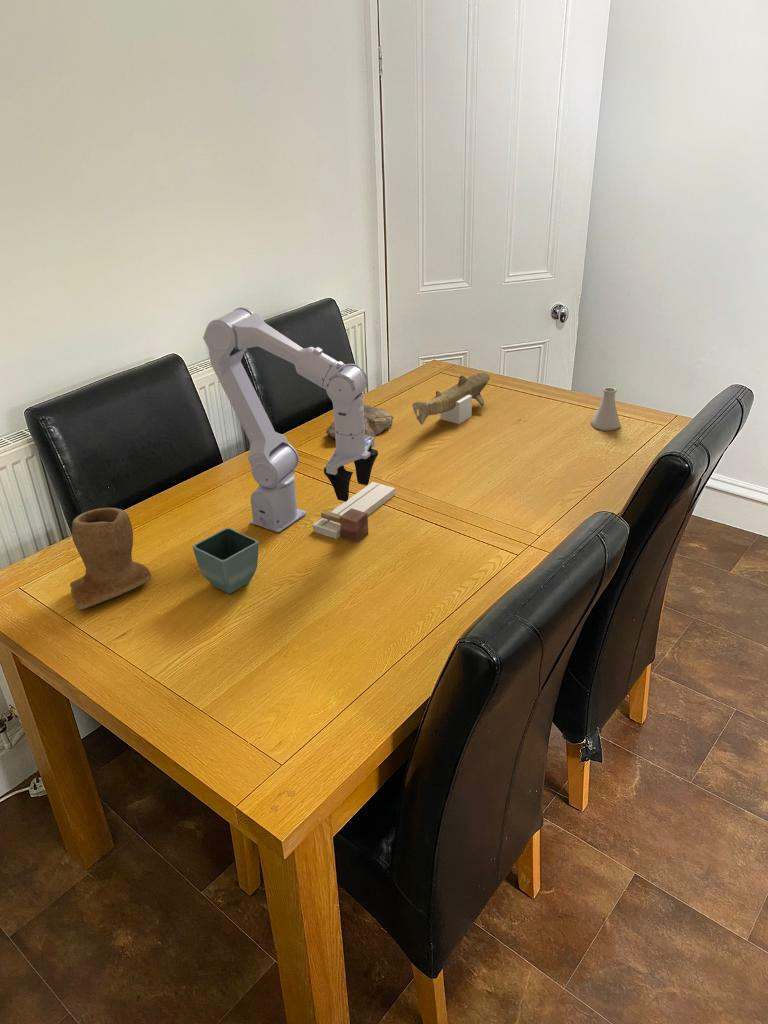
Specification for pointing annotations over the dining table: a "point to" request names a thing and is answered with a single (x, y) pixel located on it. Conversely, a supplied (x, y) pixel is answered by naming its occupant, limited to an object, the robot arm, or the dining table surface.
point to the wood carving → (454, 400)
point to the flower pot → (227, 559)
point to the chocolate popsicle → (350, 524)
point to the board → (356, 507)
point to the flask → (607, 412)
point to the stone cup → (105, 557)
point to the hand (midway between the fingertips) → (353, 491)
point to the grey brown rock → (370, 421)
